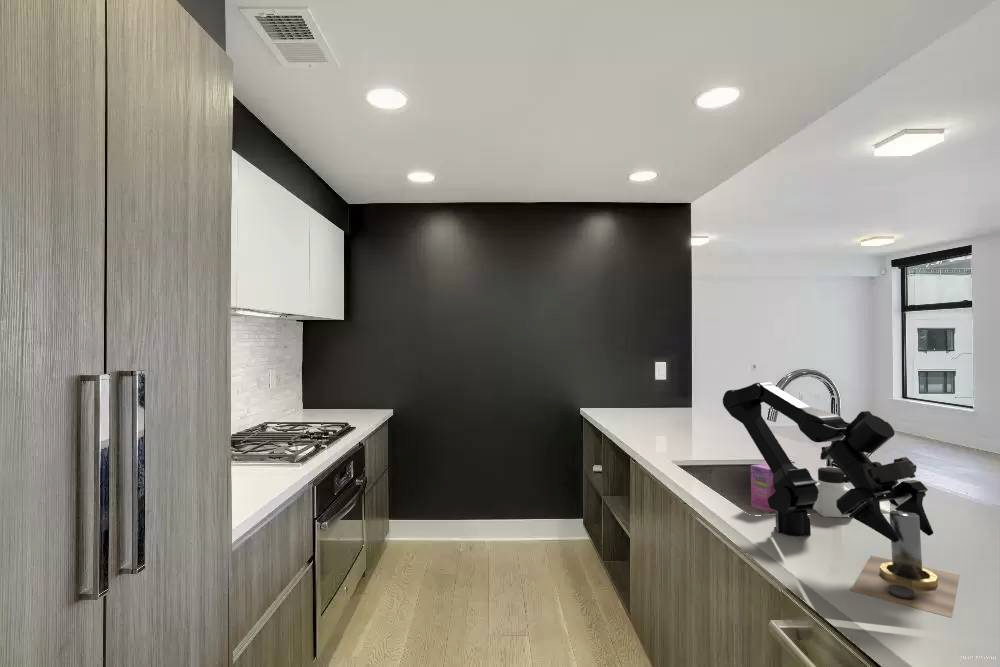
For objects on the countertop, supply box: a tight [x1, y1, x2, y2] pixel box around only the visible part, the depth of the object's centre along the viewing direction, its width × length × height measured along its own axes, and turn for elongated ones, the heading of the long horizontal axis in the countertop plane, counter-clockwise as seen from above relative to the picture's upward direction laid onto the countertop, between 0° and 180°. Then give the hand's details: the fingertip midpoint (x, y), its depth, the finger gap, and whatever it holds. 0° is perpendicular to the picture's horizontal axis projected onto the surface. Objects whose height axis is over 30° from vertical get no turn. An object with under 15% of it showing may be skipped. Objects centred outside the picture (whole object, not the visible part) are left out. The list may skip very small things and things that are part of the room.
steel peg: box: [889, 510, 923, 580], centre depth 100 cm, size 4×4×12 cm
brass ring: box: [879, 562, 938, 589], centre depth 99 cm, size 8×8×1 cm
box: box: [750, 462, 776, 513], centre depth 145 cm, size 10×6×12 cm, turn 117°
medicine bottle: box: [812, 466, 851, 518], centre depth 139 cm, size 7×7×12 cm
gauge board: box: [849, 555, 960, 619], centre depth 98 cm, size 21×14×2 cm, turn 136°
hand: (914, 537), depth 98 cm, fingers open, 9 cm apart
